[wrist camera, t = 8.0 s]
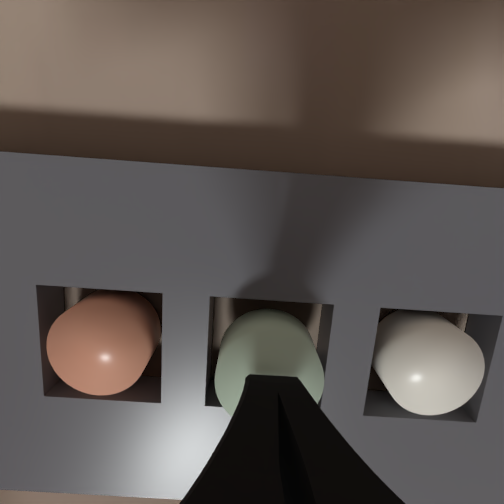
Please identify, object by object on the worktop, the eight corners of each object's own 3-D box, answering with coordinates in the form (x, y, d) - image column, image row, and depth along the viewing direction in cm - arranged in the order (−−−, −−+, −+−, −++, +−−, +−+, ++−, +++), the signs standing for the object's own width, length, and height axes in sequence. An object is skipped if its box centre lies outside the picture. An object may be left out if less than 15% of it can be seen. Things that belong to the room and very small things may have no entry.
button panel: (569, 194, 11) (615, 196, 10) (490, 482, 14) (519, 518, 12) (-20, 151, 11) (-61, 147, 10) (10, 455, 14) (-19, 488, 12)
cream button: (461, 309, 12) (494, 330, 10) (444, 387, 13) (473, 418, 11) (375, 304, 12) (394, 323, 10) (362, 382, 13) (379, 412, 11)
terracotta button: (161, 290, 12) (147, 307, 10) (160, 369, 13) (146, 398, 11) (72, 284, 12) (43, 301, 10) (76, 364, 13) (49, 392, 11)
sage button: (318, 311, 11) (330, 335, 9) (308, 396, 12) (317, 432, 10) (222, 305, 11) (217, 327, 9) (217, 391, 12) (212, 426, 10)
